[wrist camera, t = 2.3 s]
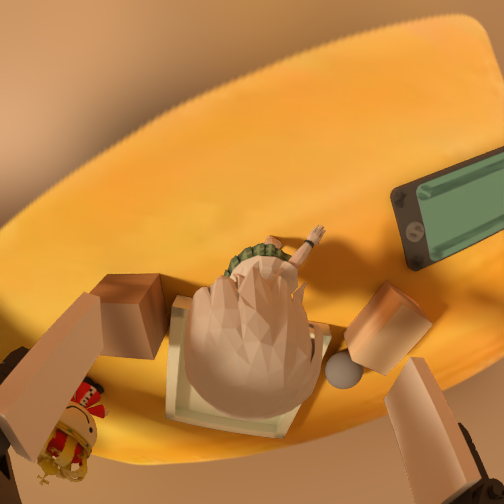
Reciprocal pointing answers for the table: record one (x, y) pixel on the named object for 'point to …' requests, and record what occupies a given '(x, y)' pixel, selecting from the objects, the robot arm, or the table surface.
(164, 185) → the table surface
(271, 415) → the figurine
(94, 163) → the table surface
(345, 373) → the grey ball
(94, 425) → the toy
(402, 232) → the smartphone
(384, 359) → the maple block
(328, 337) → the tray
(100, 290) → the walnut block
